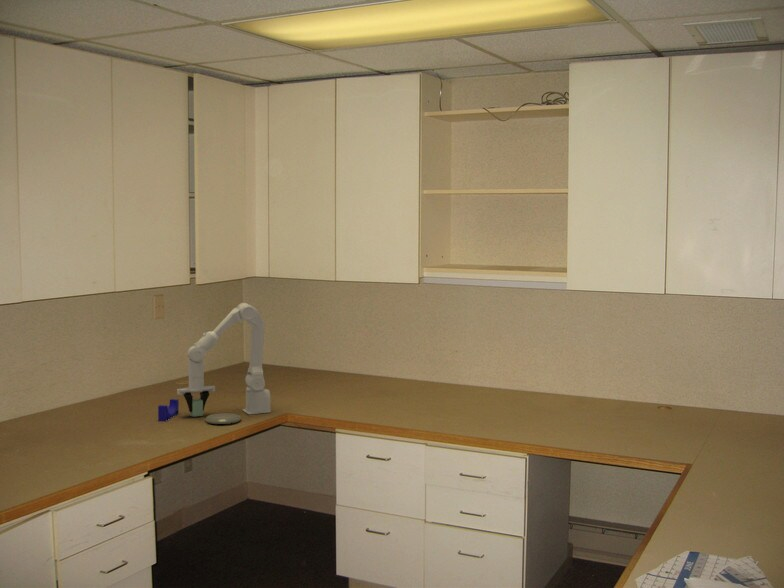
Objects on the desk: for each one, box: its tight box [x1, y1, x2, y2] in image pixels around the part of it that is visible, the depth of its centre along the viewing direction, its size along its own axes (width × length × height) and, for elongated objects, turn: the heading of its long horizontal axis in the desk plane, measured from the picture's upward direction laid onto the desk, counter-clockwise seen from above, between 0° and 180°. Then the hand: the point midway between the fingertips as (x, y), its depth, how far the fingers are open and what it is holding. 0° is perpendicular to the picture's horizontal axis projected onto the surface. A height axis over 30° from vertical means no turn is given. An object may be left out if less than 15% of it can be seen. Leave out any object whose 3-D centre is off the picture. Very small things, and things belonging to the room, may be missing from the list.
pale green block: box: [189, 397, 204, 417], centre depth 313 cm, size 4×4×6 cm
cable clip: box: [157, 398, 180, 422], centre depth 311 cm, size 12×4×6 cm, turn 172°
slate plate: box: [205, 412, 241, 425], centre depth 306 cm, size 13×13×2 cm
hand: (196, 410), depth 313 cm, fingers closed on pale green block, 4 cm apart
